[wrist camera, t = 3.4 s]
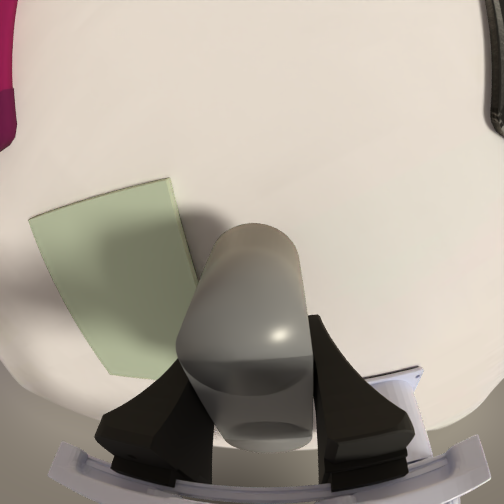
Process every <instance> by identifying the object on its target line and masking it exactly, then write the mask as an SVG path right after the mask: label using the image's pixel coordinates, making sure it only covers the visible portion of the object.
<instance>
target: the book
mask: <svg viewBox="0 0 504 504" xmlns="http://www.w3.org/2000/svg"><path fill="white" fill-rule="evenodd" d="M17 2H18V0H0V152H1V151H2V150H3V149H5V148H6V147H8V146H9V145H10V144H11V143H12V141H13V139H14V138H15V134H16V128H17V120H16V111H15V99H14V88H13V86H12V49H13V33H14V23H15V15H16V8H17Z"/></svg>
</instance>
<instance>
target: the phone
mask: <svg viewBox="0 0 504 504" xmlns="http://www.w3.org/2000/svg"><path fill="white" fill-rule="evenodd" d="M485 2H486V7H487V14H488V20H489V28H490V38H491V52H492V97H491V121H492V124H493V127H494V128H495V130H496V131H497V132H498V133H499V134H500V135H502V136H504V0H485Z"/></svg>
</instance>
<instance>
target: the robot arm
mask: <svg viewBox="0 0 504 504" xmlns="http://www.w3.org/2000/svg"><path fill="white" fill-rule="evenodd" d="M308 321H309V328H310V336H311V344H312V352H313V398H314V403H315V410H316V423H317V441H318V463H319V464H318V467H319V484H318V485H308V486H296V487H235V486H234V487H233V486H220V485H212V447H213V433H214V422H213V420H212V419H211V417H210V416H209V414H208V412H207V410H206V409H205V407H204V405H203V404H202V402H201V400H200V398H199V397H198V395H197V393H196V391H195V390H194V388H193V386H192V384H191V382H190V380H189V379H188V377H187V375H186V373H185V371H184V369H183V367H182V365H181V363H180V361H179V359H178V358H177V360H176V361H175V362H174V363H173V364H172V365H171V366H170V367H169V369H168V370H167V371H166V372H165V373H164V374H163V375H162V376H161V377H160V378H158V379H157V380H156V381H155V382H154V383H153V384H152V385H150V386H149V387H148V388H147V389H145V390H144V391H143V392H141V393H140V394H139V395H137V396H136V397H134V398H133V399H131V400H130V401H128V402H127V403H125V404H123V405H122V406H120V407H118V408H116V409H114V410H112V411H110V412H108V413H106V414H104V415H103V417H102V419H101V422H100V424H99V426H98V429H97V431H96V434H95V439H96V441H97V442H98V443H99V444H100V445H101V446H102V447H104V448H105V449H106V450H108V451H109V452H110V453H112V454H113V455H114V459H113V461H112V463H109V462H107V461H104V460H101V459H98V458H95V457H92V456H90V455H88V454H87V453H86V452H85V451H83V450H82V449H80V448H78V447H77V446H74V445H72V444H70V443H67V442H65V441H62V442H61V444H60V446H59V449H58V451H57V453H56V455H55V458H54V460H53V463H52V465H51V467H50V470H49V472H48V477H50V478H52V479H53V480H55V481H57V482H58V483H60V484H62V485H64V486H65V487H67V488H69V489H71V490H73V491H74V492H76V493H78V494H81V495H82V496H84V497H87V498H89V499H91V500H93V501H95V502H98V503H100V504H213V503H204V502H198V501H191V500H186V499H184V498H183V497H181V496H187V497H193V498H200V499H207V500H215V501H225V502H238V503H298V502H311V501H316V502H315V503H314V504H461V502H460V496H462V495H464V494H466V493H468V492H470V491H472V490H474V489H475V488H477V487H479V486H480V485H482V484H484V483H485V482H487V481H489V480H490V479H491V475H490V471H489V468H488V464H487V461H486V457H485V454H484V451H483V448H482V445H481V442H480V439H479V436H478V435H477V434H476V435H474V436H472V437H470V438H467V439H465V440H463V441H461V442H459V443H457V444H455V445H453V446H452V447H451V448H449V449H448V450H447V452H446V453H443V454H441V455H438V456H436V457H433V454H432V450H431V446H430V443H429V439H428V436H427V432H426V429H425V425H424V422H423V419H422V416H421V412H420V409H419V406H418V403H417V400H416V397H415V394H414V391H415V389H416V387H417V385H418V383H419V381H420V379H421V376H422V374H423V372H424V370H423V368H422V367H418V368H414V369H410V370H406V371H402V372H398V373H393V374H389V375H384V376H379V377H374V378H369V379H363V378H362V377H361V376H360V375H359V374H358V373H357V371H356V370H355V369H354V368H353V367H352V366H351V365H350V363H349V362H348V361H347V360H346V358H345V357H344V356H343V355H342V353H341V352H340V351H339V349H338V348H337V346H336V345H335V343H334V342H333V340H332V339H331V337H330V335H329V334H328V332H327V330H326V328H325V327H324V325H323V323H322V320H321V318H320V316H319V315H318V314H317V315H309V316H308ZM174 494H177V495H174ZM178 495H181V496H178Z"/></svg>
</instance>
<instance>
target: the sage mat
mask: <svg viewBox="0 0 504 504" xmlns="http://www.w3.org/2000/svg"><path fill="white" fill-rule="evenodd" d="M28 221H29V224H30V227H31V230H32V232H33V235H34V238H35V240H36V243H37V245H38V248H39V250H40V253H41V255H42V257H43V260H44V262H45V264H46V266H47V269H48V271H49V273H50V275H51V277H52V279H53V281H54V283H55V285H56V287H57V289H58V291H59V293H60V295H61V297H62V299H63V301H64V303H65V305H66V306H67V308H68V310H69V312H70V314H71V315H72V317H73V319H74V321H75V322H76V324H77V326H78V327H79V329H80V331H81V332H82V334H83V335H84V337H85V339H86V340H87V342H88V343H89V345H90V346H91V348H92V349H93V351H94V352H95V354H96V355H97V357H98V358H99V360H100V361H101V363H102V364H103V365H104V367H105V368H106V370H107V371H108V372H109V374H110V375H116V376H124V377H133V378H142V379H153V380H157V379H158V378H160V377H161V376H162V375H163V374H164V373H165V372H166V371H167V370H168V369H169V367H170V366H171V365H172V364H173V363H174V362H175V361H176V360H177V358H178V357H177V353H176V338H177V336H178V333H179V331H180V328H181V325H182V323H183V320H184V318H185V315H186V313H187V310H188V308H189V305H190V303H191V300H192V298H193V295H194V293H195V290H196V288H197V285H198V283H199V282H198V279H197V276H196V273H195V269H194V266H193V262H192V259H191V256H190V252H189V249H188V245H187V242H186V238H185V234H184V231H183V227H182V223H181V220H180V216H179V212H178V208H177V204H176V200H175V197H174V193H173V188H172V184H171V180H170V178H165V179H161V180H157V181H152V182H148V183H144V184H140V185H136V186H132V187H128V188H124V189H121V190H117V191H113V192H110V193H106V194H102V195H99V196H96V197H92V198H89V199H86V200H82V201H79V202H76V203H73V204H70V205H67V206H64V207H61V208H58V209H55V210H52V211H49V212H46V213H43V214H40V215H38V216H35V217H33V218H31V219H29V220H28Z"/></svg>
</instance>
